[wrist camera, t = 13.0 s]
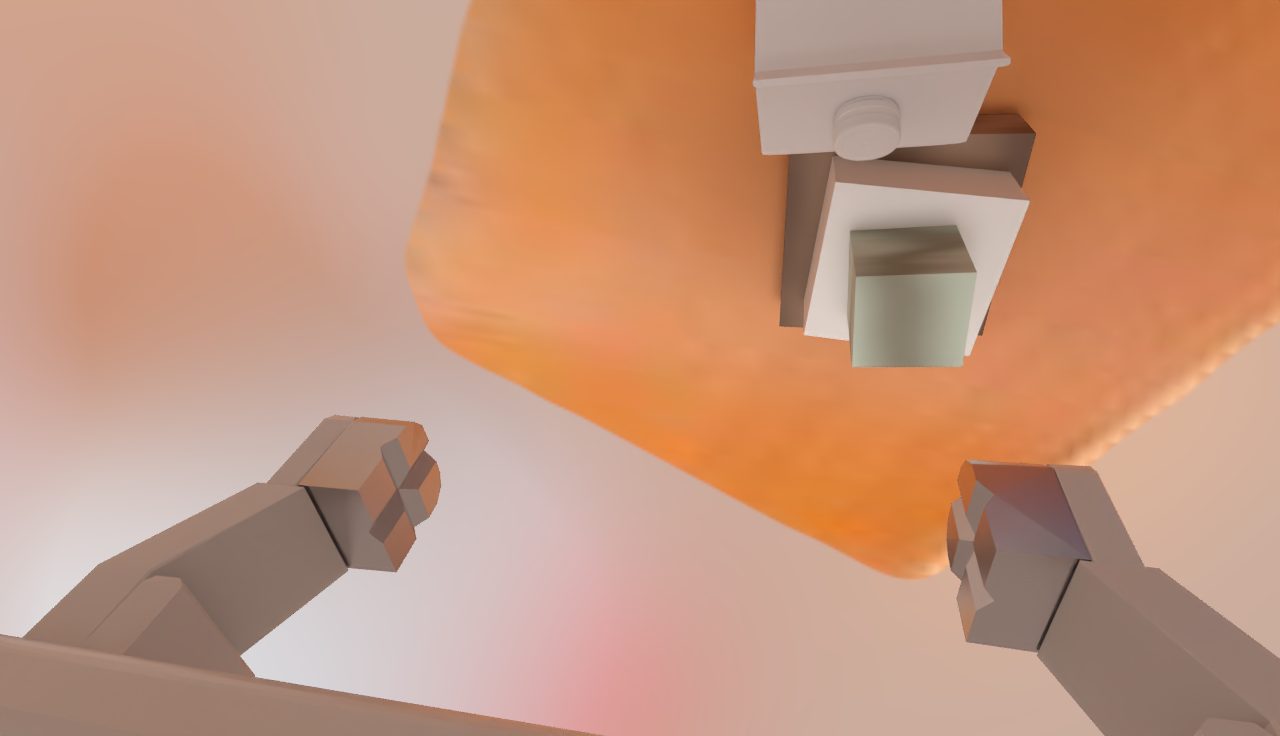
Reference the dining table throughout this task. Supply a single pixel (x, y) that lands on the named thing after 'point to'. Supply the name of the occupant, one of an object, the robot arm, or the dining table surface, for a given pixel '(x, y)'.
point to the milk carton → (872, 73)
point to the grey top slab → (904, 200)
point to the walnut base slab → (987, 147)
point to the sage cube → (909, 297)
